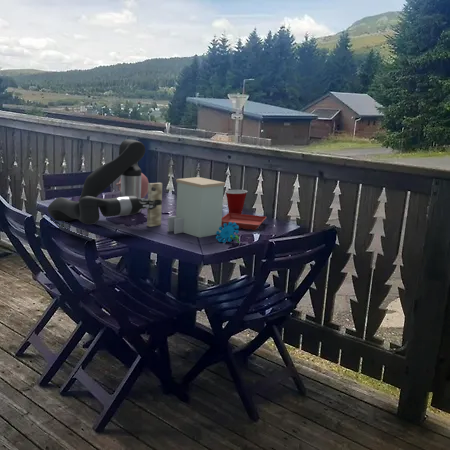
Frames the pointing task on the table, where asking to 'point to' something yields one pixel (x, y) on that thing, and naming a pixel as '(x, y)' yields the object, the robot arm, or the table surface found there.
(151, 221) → the tall wooden plank
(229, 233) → the gear
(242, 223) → the plant saucer
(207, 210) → the cabinet
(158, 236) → the table surface
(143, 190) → the balloon
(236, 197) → the plastic cup
